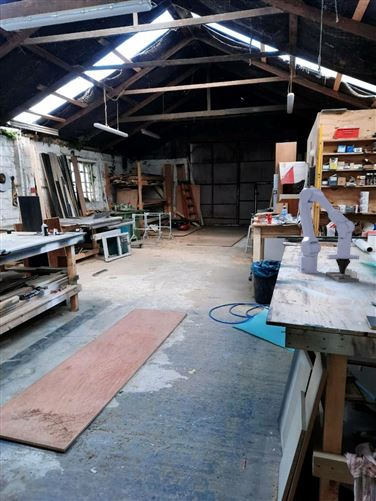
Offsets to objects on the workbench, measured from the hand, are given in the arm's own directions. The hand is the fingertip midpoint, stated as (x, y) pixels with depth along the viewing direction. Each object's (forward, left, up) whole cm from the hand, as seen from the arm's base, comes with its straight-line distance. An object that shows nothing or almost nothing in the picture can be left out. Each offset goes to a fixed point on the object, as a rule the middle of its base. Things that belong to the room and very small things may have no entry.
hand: (341, 273), depth 158 cm
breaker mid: (+3, 0, 0) cm, 3 cm away
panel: (0, 0, -2) cm, 2 cm away
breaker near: (+3, -6, 0) cm, 6 cm away
